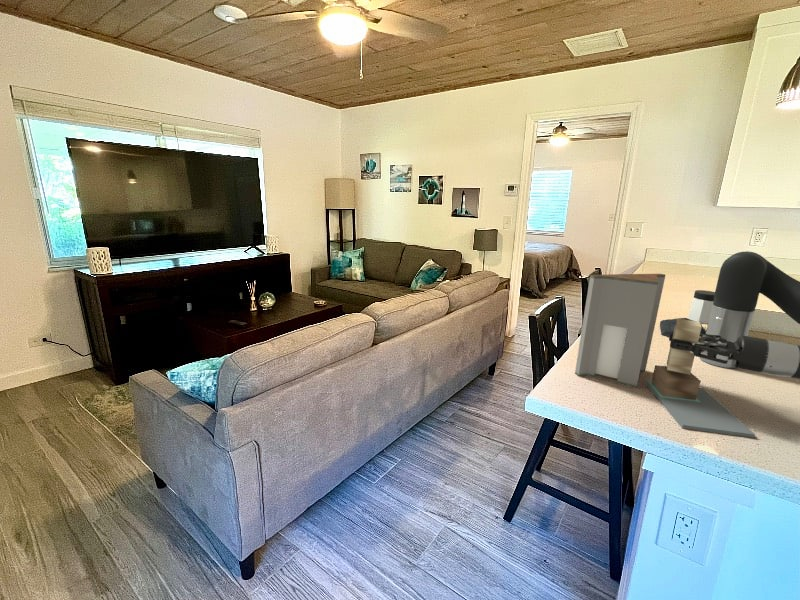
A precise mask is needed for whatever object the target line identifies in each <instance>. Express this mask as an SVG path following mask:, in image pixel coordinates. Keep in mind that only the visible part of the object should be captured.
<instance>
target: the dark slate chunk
mask: <svg viewBox="0 0 800 600" xmlns="http://www.w3.org/2000/svg"><path fill="white" fill-rule="evenodd" d="M676 319H683V320H690V319H688V317H680V318H679V317H678V318H669V319H662V320H660V322H659V324H660V325H659V329H660V335H661V336H663V337H666V338H668V339H669V337H670V333H673V332H674V328H675V323H676ZM690 321H693V320H690ZM706 330H707V329H705V327H703V325H702V324H701V332H700V334H706ZM698 341H700V340H698Z"/></svg>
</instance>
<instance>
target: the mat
mask: <svg viewBox="0 0 800 600" xmlns="http://www.w3.org/2000/svg"><path fill="white" fill-rule="evenodd" d="M651 382H652V381H648V380H647V381H645V386H646V387H647V388H648V389H649V390H650V392H651V393H652V394H653V395H654V396H655V397H656V399H657V400H658V401H659V402H660V404H661V405H662V406H663V407H664V408H665V409H666V411H667V412H668V413H669V414H670V415H671V417H672V418H673V419H674V420H675V422H676V424H678V425H679V427H681V429H685V430H691V431H693V430H694V431H700V432H706V433H708V432H709V433H716V434H721V435H729V436H735V437H736V436H737V437H745V438H751V439H752V438H753V439H754V438H755V437H756V434H755V433H754V432H753V431H752V430H751V429H749V428H748V427H747V426H746V425H745V424H744V423H743V422H742V421H741V420H739V418H737V417H736V416H735V414H733V413H732V412H730V411H729V410H728V409H727V408H726V406H724V405H723V404H722V403H721V402H720V401H718V400H717V399H716V398H715V397H714V396H713V395H712V394H710V393H709V391H707V389H705V388H704V387H699V390H698V394H697V398H696V400H691V399H683V398H674V397H666V396H662V394H661V393H660V392H659V391H658V390H657V389H656V388H655V386H654V385H653V384H652V383H651Z"/></svg>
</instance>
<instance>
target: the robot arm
mask: <svg viewBox="0 0 800 600" xmlns="http://www.w3.org/2000/svg"><path fill="white" fill-rule="evenodd" d="M714 292H715V295H714V302H713V306H712V310H711V314H710V318H709V322H708V324H707V326H706V329H705V330H706V334H700V336H699V340H700V341H698V342H690V341H684V340H678V339H672V337H673V333H670V337H669V338H668V341H669V348H670V347H671V348H674V349H680V350H685V351H689V352H690V353H694V356H695V357H696V358H697V357H698V358H699V359H700V360H701V361H703V362H705V363H707V364H710V365H712V366H717V367H721V368H725V369H727V368H728V369H739V370H743V371H744V370H745V371H750V372H755V373H760V374H765V375H770V376H776V377H785V378H792V379H798V380H800V345H798V344H797V345H796V344H792V343H788V342H784V341H779V340H773V339H772V340H771V339H767V338H760V337H753V336H750V335H749V331H750V328H751V324H752V322H753V319H754V316H755V315H754V314H755V310H756V307H757V305H758V300H759V296H760V294H761V295H763V296H764V297H765V298H768V300H770V301H771V302H772V303H774V304H775V305H776V306H777V307H778V308H779V309H780V310H782V312H784V313H785V314H786V315H787V316H788V317H790V318H791V319H792V320H793V321H795V322H796V323H797V324H799V325H800V280H797V279H796V278H794V277H792V276H790V275H788V274H787V273H785V272H784V271H782V270H781V269H780V268H779V267H777V266H775V264H773V263H772V262H770V261H769V260H768V259H766V258H765V257H764V256H762V255H761V254H759V253H757V252H755V251H754V252H753V251H749V250H748V251H747V250H746V251H740V252H739V251H738V252H736V253H734V254H732V255H730V256H729V257H727V258H726V259H725V260H724V261H723V262H722V264H721V267H720V270H719V273H718V277H717V282H716V287H715V291H714Z"/></svg>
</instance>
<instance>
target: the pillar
mask: <svg viewBox="0 0 800 600" xmlns="http://www.w3.org/2000/svg"><path fill="white" fill-rule="evenodd" d="M675 319H676V323H675V328H674V332H673V337H672V339H678V340H684V341H690V342H698V340H699V336H700V332H701V325H702V324H701V323H700V322H697V321H690V320H683V319H677V318H675ZM668 350H669V351H668V356H667V359H666V366H667V370H670V371H675V372H680V373H684V374H689V375H690V373H692V368H693V365H694V364H693V363H694V359H695V357H696V356H694V353H690V352H689V351H685V350H680V349H674V348H671V347H670V346H669V349H668Z"/></svg>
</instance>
